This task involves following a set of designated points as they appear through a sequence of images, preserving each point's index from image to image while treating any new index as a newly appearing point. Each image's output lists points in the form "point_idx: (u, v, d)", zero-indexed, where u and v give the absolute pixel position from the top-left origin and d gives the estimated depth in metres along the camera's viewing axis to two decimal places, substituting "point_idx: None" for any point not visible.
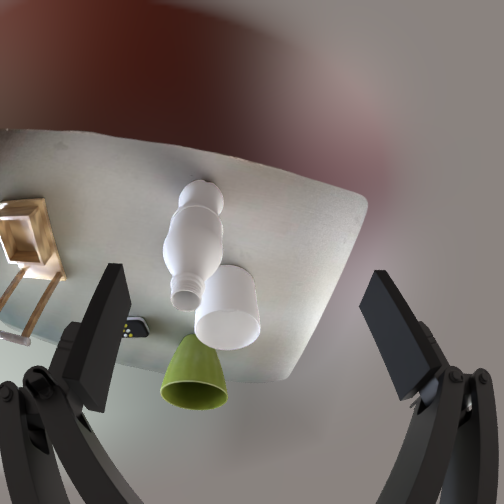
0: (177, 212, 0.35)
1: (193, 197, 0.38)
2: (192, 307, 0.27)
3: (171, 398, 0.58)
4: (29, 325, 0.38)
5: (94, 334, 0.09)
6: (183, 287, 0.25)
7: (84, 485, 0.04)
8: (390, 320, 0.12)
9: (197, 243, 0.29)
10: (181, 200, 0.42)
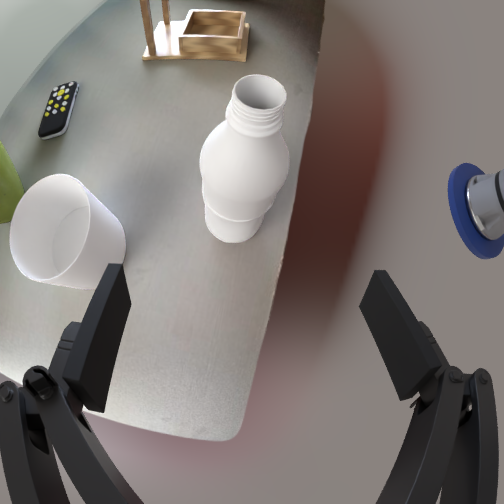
0: None
1: None
2: None
3: None
4: None
5: (94, 334, 0.09)
6: (286, 95, 0.14)
7: (84, 485, 0.04)
8: (390, 320, 0.12)
9: (284, 158, 0.19)
10: None
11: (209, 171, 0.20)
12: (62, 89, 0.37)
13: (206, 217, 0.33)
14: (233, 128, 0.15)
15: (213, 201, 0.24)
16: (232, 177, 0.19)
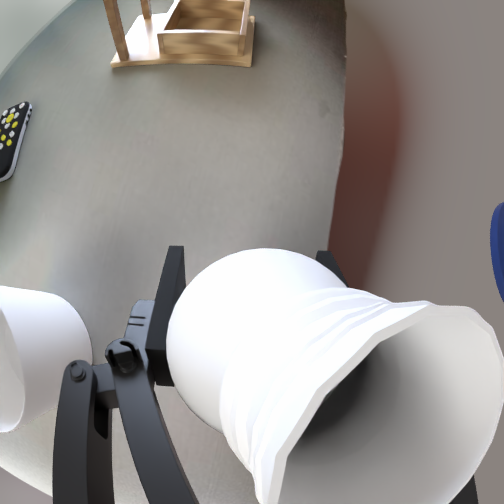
0: None
1: None
2: None
3: None
4: None
5: (171, 307, 0.11)
6: (493, 398, 0.02)
7: (145, 463, 0.06)
8: None
9: None
10: None
11: (189, 407, 0.08)
12: (11, 113, 0.25)
13: None
14: None
15: None
16: None
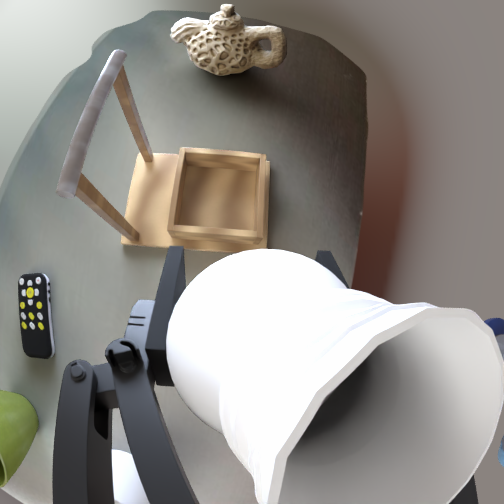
0: None
1: None
2: None
3: None
4: (91, 197, 0.20)
5: (171, 307, 0.11)
6: (491, 400, 0.02)
7: (145, 463, 0.06)
8: None
9: (363, 378, 0.08)
10: None
11: (189, 407, 0.08)
12: (30, 287, 0.32)
13: None
14: None
15: None
16: None
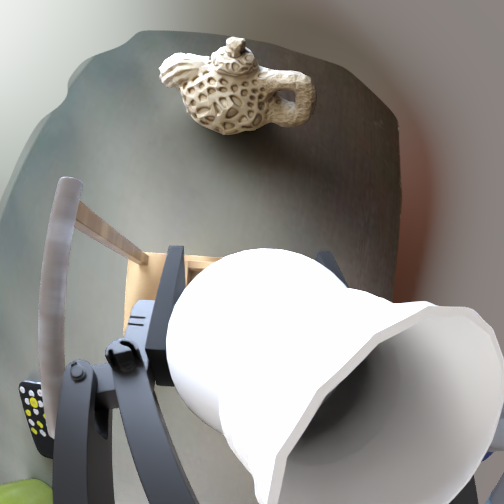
0: None
1: None
2: None
3: None
4: None
5: (171, 307, 0.11)
6: (492, 398, 0.02)
7: (145, 463, 0.06)
8: None
9: None
10: None
11: (189, 407, 0.08)
12: (33, 397, 0.25)
13: None
14: None
15: None
16: None
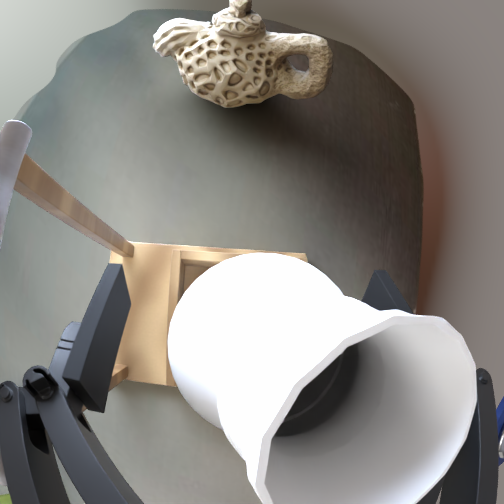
0: None
1: None
2: (267, 486, 0.02)
3: None
4: None
5: (94, 334, 0.09)
6: (466, 399, 0.03)
7: (84, 485, 0.04)
8: None
9: None
10: None
11: (190, 404, 0.08)
12: None
13: None
14: None
15: None
16: None
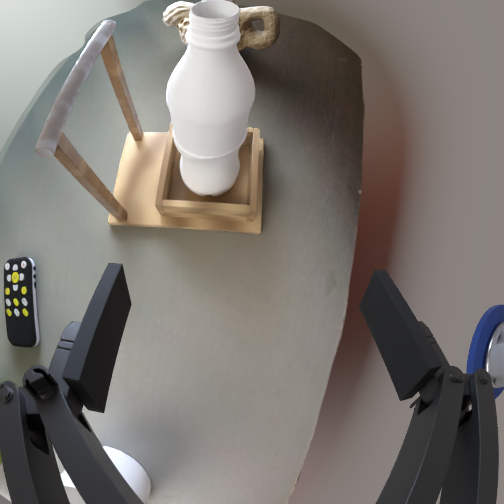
0: None
1: None
2: None
3: None
4: (72, 160, 0.18)
5: (94, 334, 0.09)
6: (239, 11, 0.12)
7: (84, 485, 0.04)
8: (390, 320, 0.12)
9: (246, 80, 0.18)
10: None
11: (172, 95, 0.18)
12: (15, 272, 0.29)
13: (181, 168, 0.31)
14: (190, 43, 0.13)
15: (180, 134, 0.22)
16: (193, 96, 0.17)
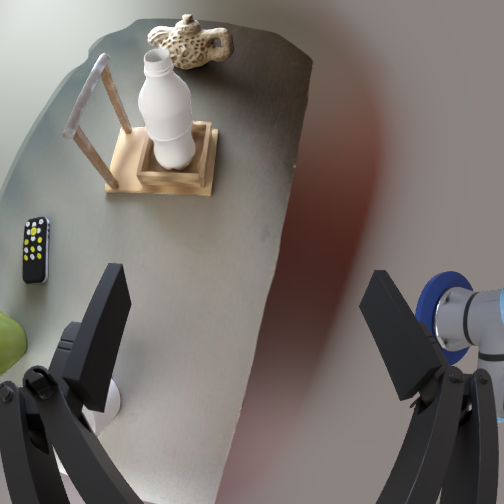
0: None
1: None
2: (145, 61, 0.24)
3: None
4: (83, 141, 0.30)
5: (94, 334, 0.09)
6: (169, 55, 0.25)
7: (84, 485, 0.04)
8: (390, 320, 0.12)
9: (181, 91, 0.30)
10: None
11: (140, 103, 0.30)
12: (34, 227, 0.42)
13: (154, 150, 0.44)
14: (146, 75, 0.26)
15: (147, 126, 0.34)
16: (150, 103, 0.29)
